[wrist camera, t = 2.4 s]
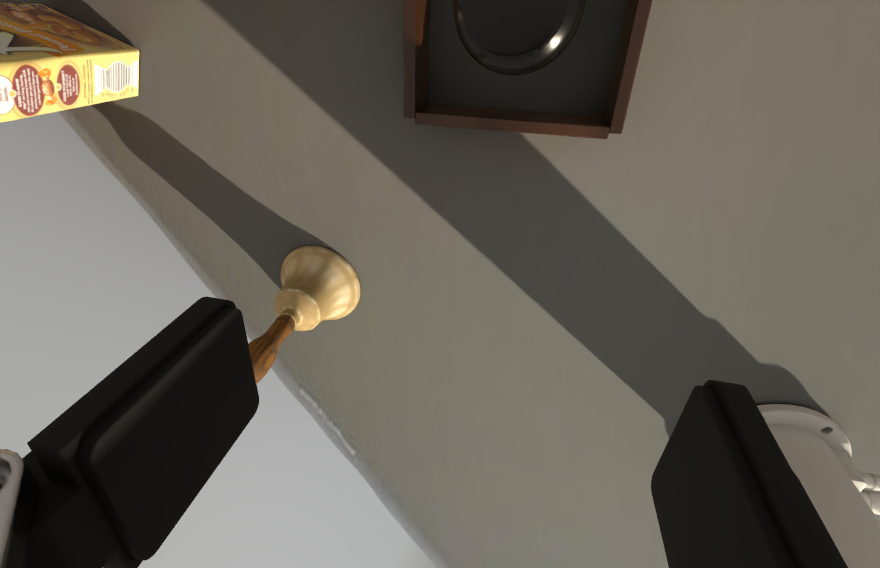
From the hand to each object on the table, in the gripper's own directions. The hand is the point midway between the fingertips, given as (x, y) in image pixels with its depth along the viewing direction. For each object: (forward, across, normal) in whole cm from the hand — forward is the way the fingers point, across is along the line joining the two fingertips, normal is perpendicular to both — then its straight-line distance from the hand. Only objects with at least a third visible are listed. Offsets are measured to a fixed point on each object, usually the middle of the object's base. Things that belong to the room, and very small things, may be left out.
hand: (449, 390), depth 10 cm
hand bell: (+29, +17, +17) cm, 38 cm away
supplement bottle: (+29, 0, -7) cm, 30 cm away
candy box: (+30, +36, -2) cm, 47 cm away
